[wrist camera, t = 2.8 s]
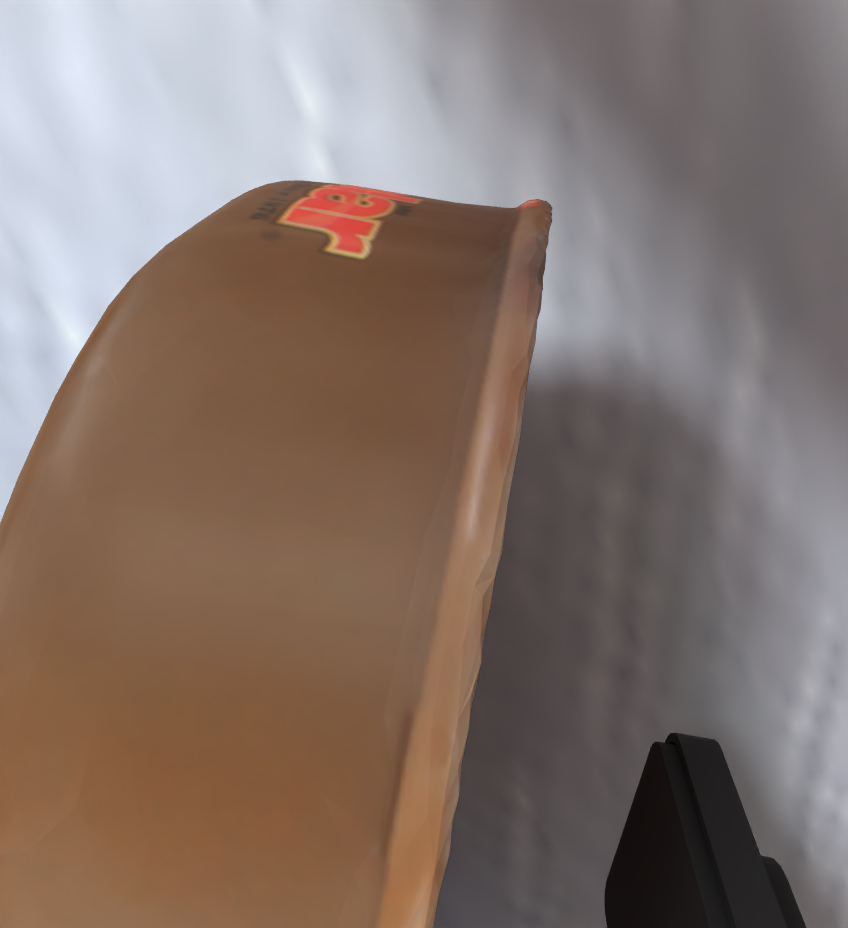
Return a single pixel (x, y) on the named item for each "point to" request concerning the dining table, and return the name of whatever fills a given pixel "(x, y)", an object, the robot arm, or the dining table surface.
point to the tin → (265, 568)
